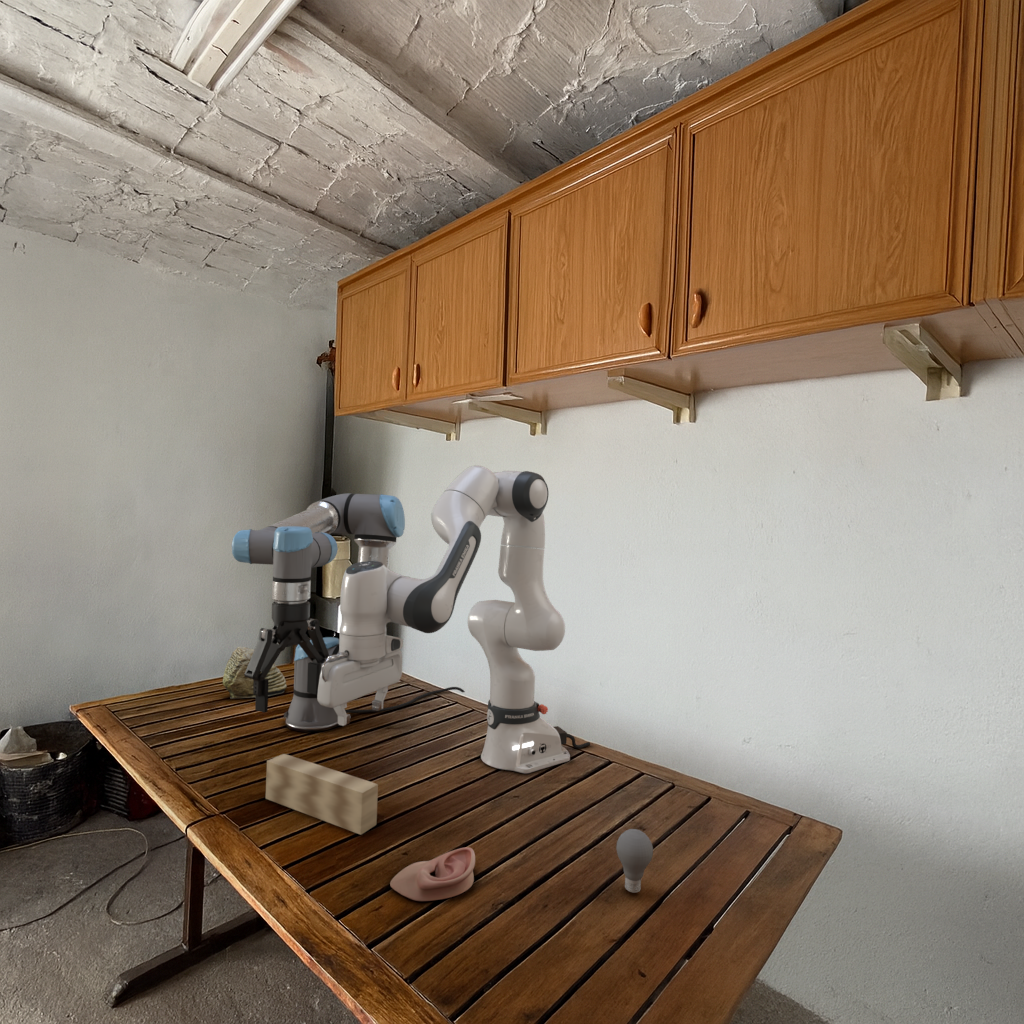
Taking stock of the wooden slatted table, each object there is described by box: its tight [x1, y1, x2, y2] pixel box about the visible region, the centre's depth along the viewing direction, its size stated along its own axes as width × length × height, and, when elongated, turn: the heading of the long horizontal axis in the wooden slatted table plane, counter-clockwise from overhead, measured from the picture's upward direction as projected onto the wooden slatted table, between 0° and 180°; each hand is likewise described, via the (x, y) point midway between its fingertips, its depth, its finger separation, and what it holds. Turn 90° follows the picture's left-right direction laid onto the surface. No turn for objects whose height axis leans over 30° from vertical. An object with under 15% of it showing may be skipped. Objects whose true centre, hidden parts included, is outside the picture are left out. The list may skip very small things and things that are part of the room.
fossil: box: [222, 646, 288, 699], centre depth 198 cm, size 9×18×15 cm, turn 132°
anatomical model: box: [389, 846, 476, 902], centre depth 106 cm, size 13×4×12 cm
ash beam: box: [265, 753, 379, 835], centre depth 128 cm, size 26×4×8 cm, turn 62°
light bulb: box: [615, 828, 654, 894], centre depth 106 cm, size 6×6×10 cm
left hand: (288, 701), depth 133 cm, fingers open, 13 cm apart
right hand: (361, 716), depth 123 cm, fingers open, 8 cm apart
